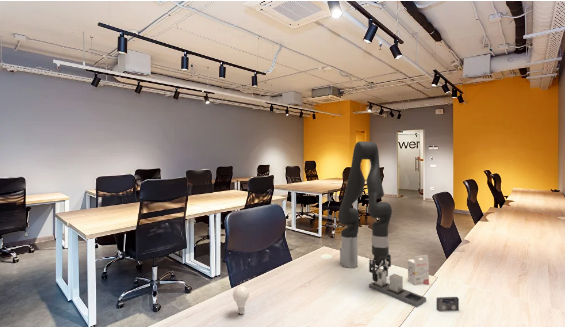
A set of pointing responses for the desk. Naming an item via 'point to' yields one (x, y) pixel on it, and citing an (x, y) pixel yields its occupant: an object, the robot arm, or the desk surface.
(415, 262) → the ink cartridge box
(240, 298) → the lightbulb
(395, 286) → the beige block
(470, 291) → the desk surface
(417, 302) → the rail
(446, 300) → the mini dv tape
